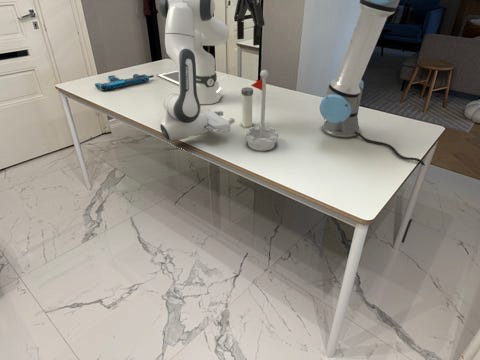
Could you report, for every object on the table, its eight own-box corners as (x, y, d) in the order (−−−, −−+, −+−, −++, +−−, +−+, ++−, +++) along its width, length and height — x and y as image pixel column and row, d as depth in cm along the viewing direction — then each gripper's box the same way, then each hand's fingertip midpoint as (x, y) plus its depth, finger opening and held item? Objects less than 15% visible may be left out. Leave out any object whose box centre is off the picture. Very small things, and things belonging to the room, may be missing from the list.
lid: (243, 91, 150) (243, 86, 149) (254, 92, 149) (254, 87, 148) (240, 95, 146) (240, 90, 144) (251, 96, 145) (251, 91, 143)
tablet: (157, 75, 221) (157, 74, 221) (183, 69, 232) (183, 69, 232) (184, 87, 201) (183, 86, 200) (211, 80, 212) (211, 79, 211)
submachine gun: (139, 68, 225) (158, 74, 208) (140, 74, 226) (158, 80, 210) (87, 78, 206) (103, 86, 189) (89, 84, 208) (104, 92, 191)
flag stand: (269, 135, 146) (272, 63, 129) (283, 148, 135) (289, 72, 119) (241, 140, 142) (241, 67, 125) (253, 154, 132) (254, 76, 115)
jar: (243, 122, 157) (243, 88, 149) (252, 123, 157) (253, 88, 148) (241, 126, 154) (241, 91, 145) (250, 127, 153) (251, 92, 144)
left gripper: (211, 125, 132) (241, 117, 138) (188, 108, 146) (216, 102, 153) (212, 139, 135) (241, 131, 142) (189, 122, 150) (217, 115, 156)
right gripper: (275, -18, 117) (272, 47, 129) (242, -21, 135) (242, 35, 147) (257, -18, 114) (255, 49, 126) (225, -21, 133) (226, 37, 144)
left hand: (228, 116), depth 147 cm, fingers open, 8 cm apart
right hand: (248, 42), depth 136 cm, fingers open, 13 cm apart
